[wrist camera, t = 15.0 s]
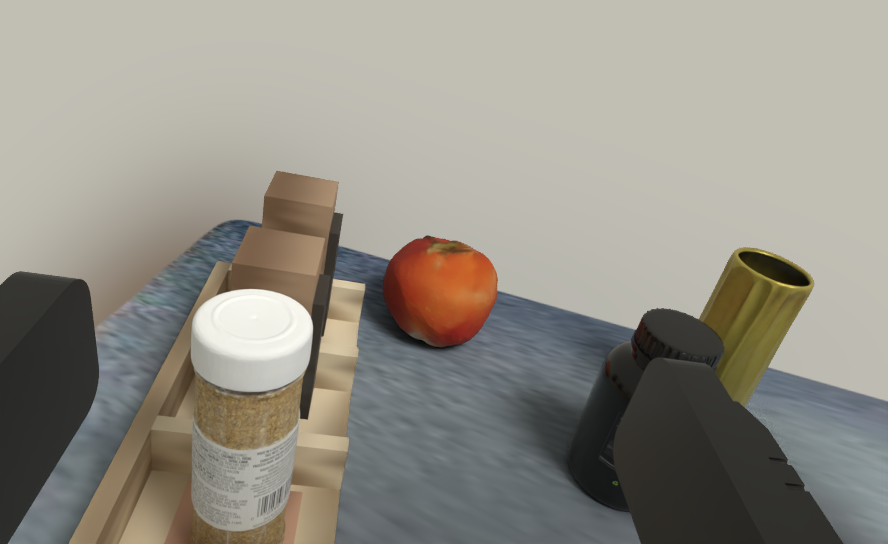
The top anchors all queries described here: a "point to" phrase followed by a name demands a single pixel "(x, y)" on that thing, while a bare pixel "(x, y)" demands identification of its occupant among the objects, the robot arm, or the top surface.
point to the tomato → (440, 290)
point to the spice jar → (246, 414)
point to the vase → (753, 315)
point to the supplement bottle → (631, 394)
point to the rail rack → (173, 392)
